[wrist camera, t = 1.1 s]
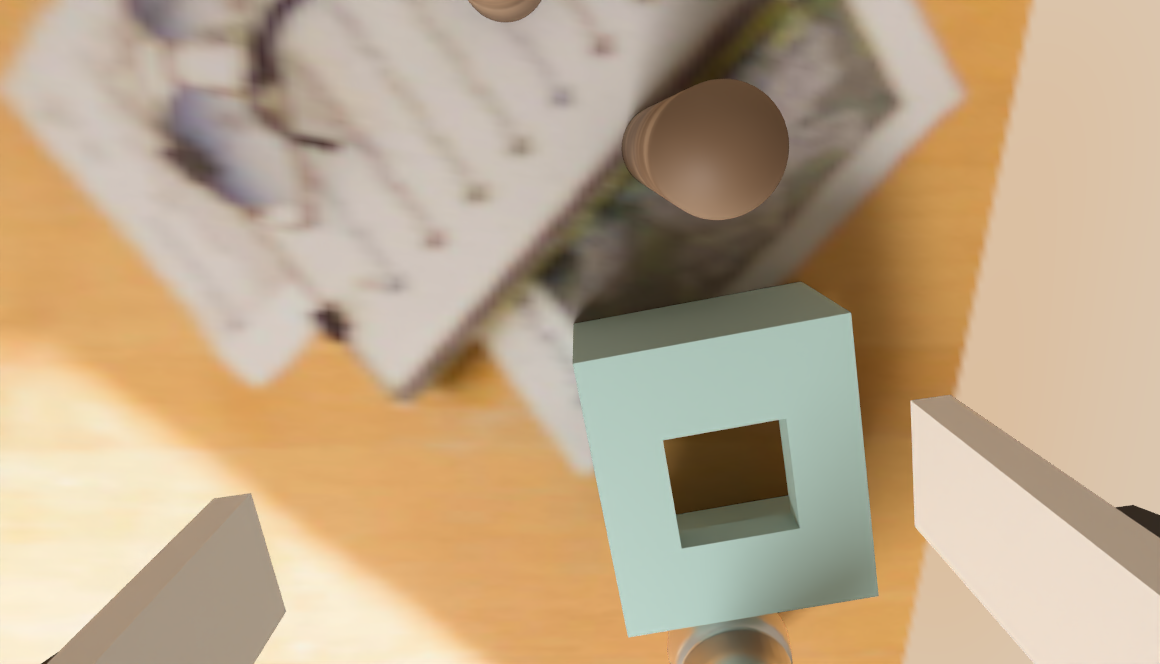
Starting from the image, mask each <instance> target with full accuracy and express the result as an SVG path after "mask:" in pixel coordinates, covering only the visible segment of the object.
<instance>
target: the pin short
mask: <svg viewBox="0 0 1160 664" xmlns="http://www.w3.org/2000/svg"><path fill="white" fill-rule="evenodd" d="M468 1H469V2H470V3H471V5H472V6H473V7H474V8H475V9H476V10H477V11H478V12H479V13H480V14H482V15H483V16H485V17H486V18H489V19H491V20H494V21H498V22H513V21H517V20H520V19H522V18H524V17H526V16H528V15H529V14H530V13H531V12H533V11H534V10H535V8H536V7H537V6H538V5H539V3H540V2H541V0H468Z"/></svg>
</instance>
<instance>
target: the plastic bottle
mask: <svg viewBox="0 0 1160 664" xmlns="http://www.w3.org/2000/svg"><path fill="white" fill-rule="evenodd" d="M667 652H668V659H669V662H670V664H792V653H791V646H790V642H789V637H788V632H787V629H786V627H785V624H784V622H783V620H782V619H781V617H780V616H779V614H778V613H773V614H767V615H761V616H755V617H748V618H742V619H736V620H730V621H724V622H718V623H712V624H706V625H700V626H694V627H688V628H682V629H676V630H670V631H669V632H668V644H667Z"/></svg>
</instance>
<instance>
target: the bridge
mask: <svg viewBox="0 0 1160 664" xmlns="http://www.w3.org/2000/svg"><path fill="white" fill-rule="evenodd" d="M573 367H574V372H575V377H576V382H577V387H578V392H579V397H580V402H581V407H582V412H583V417H584V422H585V427H586V432H587V437H588V441H589V446H590V451H591V456H592V461H593V466H594V471H595V476H596V481H597V486H598V491H599V496H600V501H601V506H602V511H603V515H604V520H605V525H606V530H607V535H608V540H609V545H610V550H611V555H612V560H613V565H614V570H615V575H616V580H617V585H618V589H619V594H620V599H621V604H622V609H623V614H624V619H625V624H626V629H627V634H628V637H633V636H640V635H646V634H652V633H658V632H664V631H670V630H676V629H682V628H688V627H694V626H700V625H706V624H712V623H718V622H724V621H730V620H736V619H742V618H748V617H755V616H761V615H767V614H773V613H779V612H785V611H791V610H797V609H803V608H809V607H815V606H821V605H827V604H833V603H839V602H845V601H851V600H857V599H863V598H870V597H876V596H878V586H877V575H876V565H875V555H874V544H873V534H872V524H871V514H870V503H869V493H868V483H867V472H866V462H865V452H864V441H863V431H862V421H861V410H860V400H859V390H858V379H857V369H856V359H855V348H854V338H853V328H852V317H851V312H849V311H848V310H846V309H844V308H843V307H841V306H840V305H838V304H836V303H835V302H833V301H832V300H830V299H828V298H827V297H825V296H824V295H822V294H821V293H819V292H817V291H816V290H814V289H813V288H811V287H809V286H808V285H806V284H805V283H803V282H796V283H791V284H785V285H780V286H774V287H769V288H764V289H758V290H753V291H748V292H742V293H737V294H731V295H726V296H721V297H715V298H710V299H705V300H699V301H694V302H688V303H683V304H678V305H672V306H667V307H661V308H656V309H651V310H645V311H640V312H635V313H629V314H624V315H618V316H613V317H608V318H602V319H597V320H592V321H586V322H581V323H575V324H574V331H573ZM775 420H779V425H780V433H781V441H782V448H783V456H784V464H785V472H786V480H787V487H788V495H787V496H781V497H775V498H770V499H764V500H758V501H752V502H747V503H741V504H735V505H729V506H723V507H718V508H712V509H706V510H700V511H694V512H689V513H683V514H677V515H676V513H675V507H674V502H673V496H672V490H671V484H670V479H669V473H668V467H667V461H666V456H665V450H664V444H663V440H668V439H673V438H679V437H685V436H690V435H696V434H702V433H707V432H713V431H719V430H724V429H730V428H735V427H741V426H747V425H752V424H758V423H764V422H769V421H775Z"/></svg>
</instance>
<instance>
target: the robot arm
mask: <svg viewBox="0 0 1160 664" xmlns="http://www.w3.org/2000/svg"><path fill="white" fill-rule="evenodd" d="M911 428H912V457H913V487H914V517H915V527H916V529H917V530H918V531H919V532H920V533H921V534H922V535H923V537H924V538H925V539H926V540H927V541H928V542H929V543H930V545H931V546H932V547H933V548H934V549H935V550H936V551H937V553H938V554H939V555H940V556H941V557H942V558H943V559H944V561H945V562H946V563H947V564H948V565H949V566H950V567H951V569H952V570H953V571H954V572H955V573H956V574H957V576H958V577H959V578H960V579H961V580H962V581H963V582H964V584H965V585H966V586H967V587H968V588H969V589H970V590H971V591H972V593H973V594H974V595H975V596H976V597H977V598H978V599H979V601H980V602H981V603H982V604H983V605H984V606H985V608H986V609H987V610H988V611H989V612H990V613H991V614H992V616H993V617H994V618H995V619H996V620H997V621H998V622H999V623H1000V625H1001V626H1002V627H1003V628H1004V629H1005V630H1006V632H1007V633H1008V634H1009V635H1010V636H1011V637H1012V638H1013V640H1014V641H1015V642H1016V643H1017V644H1018V645H1019V647H1020V648H1021V649H1022V650H1023V651H1024V652H1025V653H1026V655H1027V656H1028V657H1029V658H1030V659H1031V660H1032V661H1033V663H1034V664H1160V515H1158V514H1155V513H1152V512H1150V511H1147V510H1145V509H1142V508H1139V507H1137V506H1134V505H1131V506H1123V507H1116V508H1115V507H1113V506H1112V505H1111V504H1109V503H1108V502H1106V501H1105V500H1103V499H1102V498H1100V497H1099V496H1097V495H1096V494H1095V493H1093V492H1092V491H1090V490H1089V489H1087V488H1086V487H1084V486H1083V485H1081V484H1080V483H1078V482H1077V481H1076V480H1074V479H1073V478H1071V477H1070V476H1068V475H1067V474H1065V473H1064V472H1062V471H1061V470H1059V469H1058V468H1057V467H1055V466H1054V465H1052V464H1051V463H1049V462H1048V461H1046V460H1045V459H1043V458H1042V457H1040V456H1039V455H1038V454H1036V453H1035V452H1033V451H1032V450H1030V449H1029V448H1027V447H1026V446H1024V445H1023V444H1021V443H1020V442H1019V441H1017V440H1016V439H1014V438H1013V437H1011V436H1010V435H1008V434H1007V433H1005V432H1004V431H1002V430H1001V429H999V428H998V427H997V426H995V425H994V424H992V423H991V422H989V421H988V420H986V419H985V418H983V417H982V416H981V415H979V414H978V413H976V412H975V411H973V410H972V409H970V408H969V407H967V406H966V405H965V404H963V403H962V402H960V401H959V400H957V399H956V398H954V397H953V396H951V395H946V396H939V397H931V398H924V399H917V400H911ZM285 612H286V610H285V607H284V603H283V600H282V597H281V593H280V590H279V586H278V583H277V580H276V576H275V573H274V570H273V566H272V563H271V559H270V556H269V553H268V549H267V546H266V543H265V539H264V536H263V532H262V529H261V526H260V522H259V519H258V515H257V512H256V509H255V505H254V502H253V499H252V495H251V493H250V494H243V495H236V496H229V497H222V498H215V499H213V500H212V501H211V502H210V503H209V504H208V505H207V506H206V507H205V508H204V509H203V510H202V511H201V512H200V513H199V514H198V515H197V516H196V517H195V518H194V519H193V520H192V521H191V522H190V523H189V524H188V525H187V526H186V527H185V528H184V529H183V530H182V531H181V532H180V533H178V534H177V535H176V536H175V537H174V538H173V539H172V540H171V541H170V542H169V543H168V544H167V545H166V546H165V547H164V548H163V549H162V550H161V551H160V552H159V553H158V554H157V555H156V556H155V557H154V558H153V559H152V560H151V561H150V562H149V563H148V564H147V565H146V566H145V567H144V568H143V569H142V570H141V571H140V572H139V573H138V574H137V575H136V576H135V577H134V578H133V579H132V580H131V581H130V582H129V583H128V584H127V585H126V586H125V587H124V588H123V589H122V590H121V591H120V592H119V593H118V594H117V595H116V596H115V597H114V598H113V599H112V600H111V601H110V602H109V603H108V604H107V605H106V606H105V607H104V608H103V609H102V610H101V611H100V612H99V613H98V614H97V615H96V616H95V617H94V618H93V619H92V620H91V621H90V622H89V623H87V624H86V625H85V626H84V627H83V628H82V629H81V630H80V631H79V632H78V633H77V634H76V635H75V636H74V637H73V638H72V639H71V640H70V641H69V642H68V643H67V644H66V645H65V646H64V647H63V648H62V649H61V650H60V651H59V652H58V653H56V654H55V655H53V656H52V657H50V658H49V659H47V660H46V661H45V662H43V663H42V664H254V662H255V661H256V659H257V657H258V656H259V654H260V653H261V651H262V649H263V648H264V646H265V644H266V643H267V641H268V640H269V638H270V636H271V635H272V633H273V632H274V630H275V628H276V627H277V625H278V623H279V622H280V620H281V619H282V617H283V615H284V614H285Z"/></svg>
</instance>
